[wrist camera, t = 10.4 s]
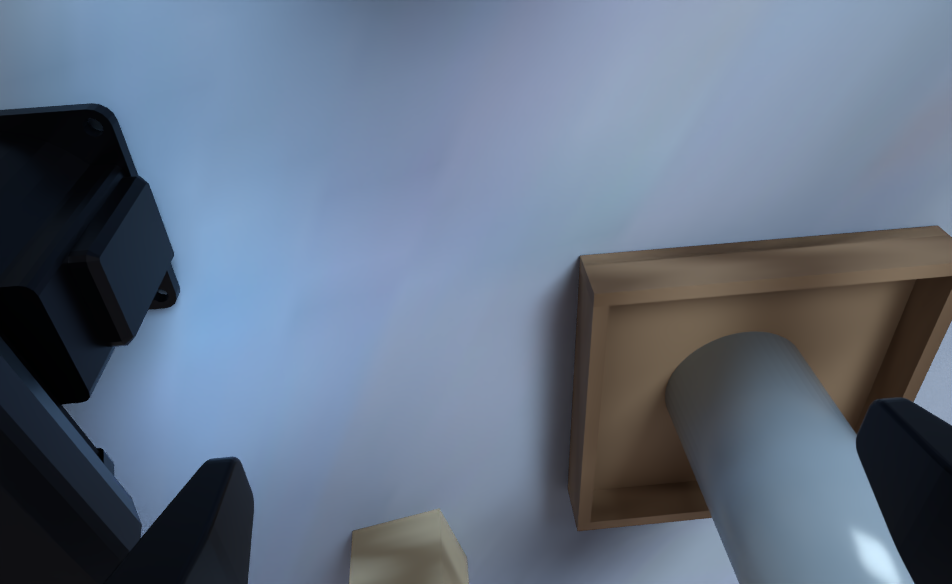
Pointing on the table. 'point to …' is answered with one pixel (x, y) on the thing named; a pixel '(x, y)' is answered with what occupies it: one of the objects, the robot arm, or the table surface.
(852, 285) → the tray
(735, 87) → the table surface
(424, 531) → the beech cube
